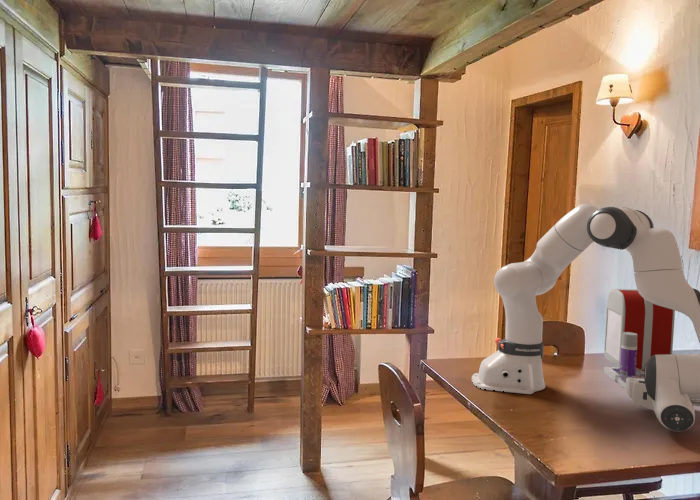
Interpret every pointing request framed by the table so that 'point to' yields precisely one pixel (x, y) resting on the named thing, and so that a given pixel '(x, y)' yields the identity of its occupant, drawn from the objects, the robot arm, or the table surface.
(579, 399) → the table surface
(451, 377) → the table surface
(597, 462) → the table surface
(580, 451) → the table surface
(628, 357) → the container
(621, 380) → the rectangular frame with crossbar
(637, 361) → the red striped box
